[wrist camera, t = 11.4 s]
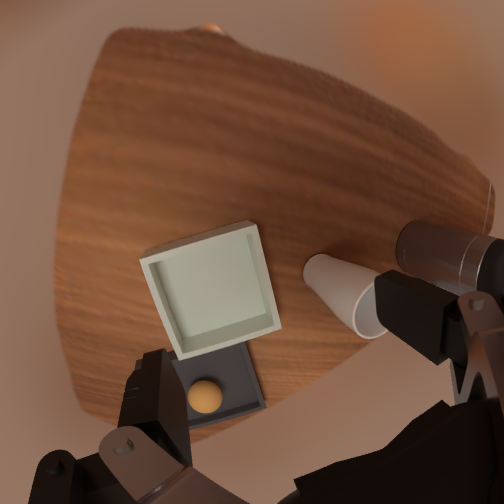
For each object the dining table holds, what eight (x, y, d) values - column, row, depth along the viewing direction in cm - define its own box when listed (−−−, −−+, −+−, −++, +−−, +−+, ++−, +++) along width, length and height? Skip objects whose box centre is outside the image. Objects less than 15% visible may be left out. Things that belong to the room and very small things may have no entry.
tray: (240, 330, 41) (244, 339, 38) (262, 398, 44) (266, 407, 42) (136, 360, 38) (134, 369, 36) (172, 423, 42) (172, 433, 39)
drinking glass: (316, 302, 42) (372, 350, 28) (287, 273, 40) (339, 317, 26) (346, 268, 42) (412, 303, 28) (320, 237, 40) (386, 263, 26)
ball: (214, 370, 40) (218, 391, 35) (224, 393, 41) (229, 415, 36) (182, 378, 39) (182, 400, 34) (193, 401, 41) (195, 423, 36)
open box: (247, 219, 38) (256, 224, 33) (270, 313, 41) (281, 328, 36) (145, 250, 35) (139, 259, 31) (178, 341, 39) (179, 360, 34)
